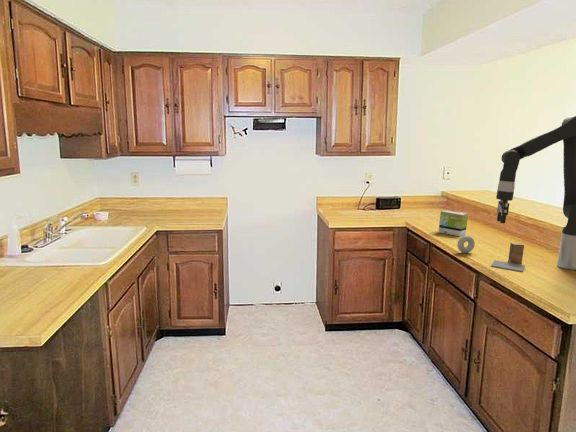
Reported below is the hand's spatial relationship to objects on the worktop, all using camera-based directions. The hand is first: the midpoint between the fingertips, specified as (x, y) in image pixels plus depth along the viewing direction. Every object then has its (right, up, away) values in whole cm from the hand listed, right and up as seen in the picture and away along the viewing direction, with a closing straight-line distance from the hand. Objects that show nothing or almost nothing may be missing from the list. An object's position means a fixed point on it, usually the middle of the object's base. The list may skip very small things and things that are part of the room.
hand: (500, 222), depth 220 cm
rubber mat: (+2, -22, -4) cm, 22 cm away
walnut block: (+9, -21, +4) cm, 23 cm away
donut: (-10, -18, +20) cm, 28 cm away
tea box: (+2, -9, +70) cm, 70 cm away
